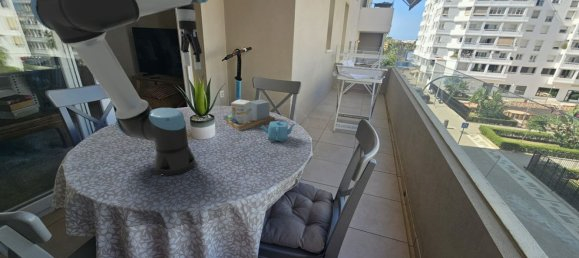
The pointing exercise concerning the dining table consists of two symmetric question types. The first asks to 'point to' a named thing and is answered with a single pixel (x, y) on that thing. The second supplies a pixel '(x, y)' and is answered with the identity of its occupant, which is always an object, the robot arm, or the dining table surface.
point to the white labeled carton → (241, 111)
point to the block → (259, 109)
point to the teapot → (278, 131)
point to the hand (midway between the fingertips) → (192, 67)
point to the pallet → (252, 123)
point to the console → (226, 118)
